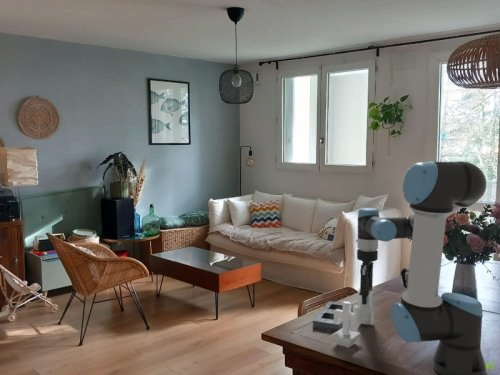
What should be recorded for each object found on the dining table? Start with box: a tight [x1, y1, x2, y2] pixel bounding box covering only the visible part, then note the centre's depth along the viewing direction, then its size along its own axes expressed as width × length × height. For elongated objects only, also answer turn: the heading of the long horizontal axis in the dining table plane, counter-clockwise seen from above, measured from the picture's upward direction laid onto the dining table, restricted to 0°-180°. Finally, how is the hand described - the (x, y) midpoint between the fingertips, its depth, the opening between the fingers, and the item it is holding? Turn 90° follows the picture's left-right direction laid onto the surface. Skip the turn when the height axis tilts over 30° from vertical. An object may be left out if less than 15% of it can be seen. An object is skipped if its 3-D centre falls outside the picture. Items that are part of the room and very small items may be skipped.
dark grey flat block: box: [312, 300, 354, 333], centre depth 195 cm, size 24×10×3 cm, turn 157°
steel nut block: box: [357, 286, 375, 326], centre depth 188 cm, size 5×5×13 cm
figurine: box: [331, 301, 361, 349], centre depth 171 cm, size 7×9×15 cm
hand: (365, 309), depth 188 cm, fingers closed on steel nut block, 5 cm apart
